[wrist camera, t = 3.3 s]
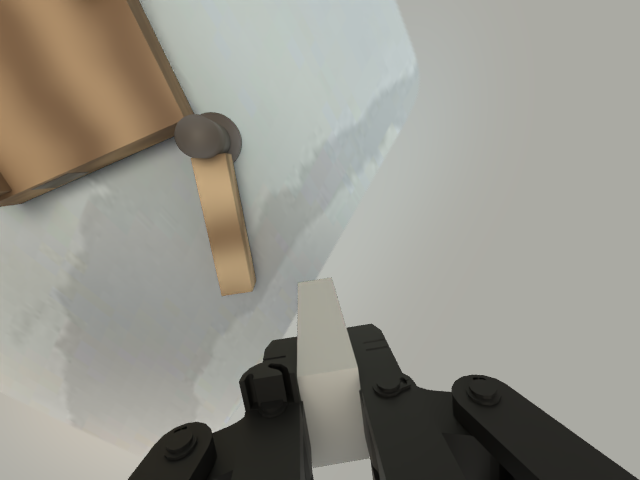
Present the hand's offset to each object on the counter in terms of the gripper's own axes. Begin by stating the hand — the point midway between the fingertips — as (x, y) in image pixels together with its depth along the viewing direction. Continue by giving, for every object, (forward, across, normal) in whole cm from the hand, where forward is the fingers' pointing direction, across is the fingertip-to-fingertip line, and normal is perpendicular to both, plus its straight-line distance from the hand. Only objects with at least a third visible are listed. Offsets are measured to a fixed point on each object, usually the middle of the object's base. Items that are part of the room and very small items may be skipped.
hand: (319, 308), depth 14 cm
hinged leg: (+14, -6, +4) cm, 16 cm away
